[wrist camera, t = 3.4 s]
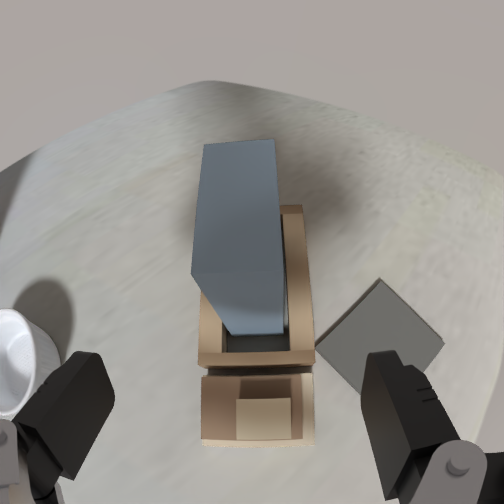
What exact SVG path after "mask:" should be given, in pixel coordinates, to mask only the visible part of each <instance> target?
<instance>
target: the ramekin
mask: <svg viewBox="0 0 504 504" xmlns="http://www.w3.org/2000/svg"><path fill="white" fill-rule="evenodd" d="M60 366H61V363H60V357H59V353H58V350H57V348H56V346H55V344H54V342H53V340H52V339H51V337H50V336H49V335H48V334H47V333H46V332H44V331H43V330H42V329H41V328H39V327H38V326H36V325H35V324H33V323H31V322H30V321H28V320H27V318H26V317H25V316H23V315H22V314H21V313H20V312H18V311H17V310H14V309H12V308H2V309H0V415H4V416H8V415H13V414H18V412H19V411H20V410H21V409H22V407H23V406H24V405H25V404H26V402H27V401H28V400H29V399H30V397H31V396H32V395H33V394H34V393H35V392H37V389H38V388H39V387H40V385H41V384H44V381H45V379H46V378H47V377H48V376H49V375H50V374H51V372H53V371H54V370H56V369H57V368H59V367H60Z"/></svg>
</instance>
